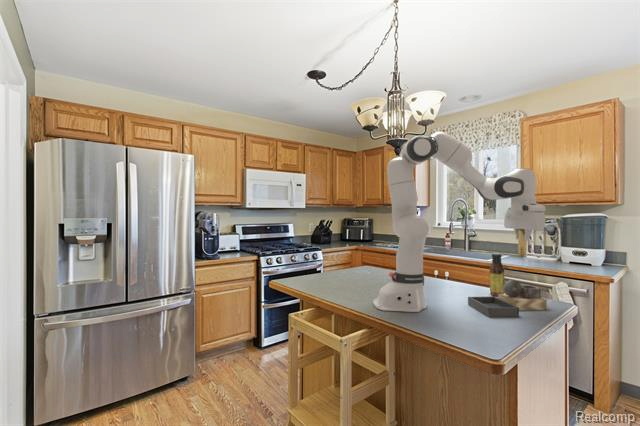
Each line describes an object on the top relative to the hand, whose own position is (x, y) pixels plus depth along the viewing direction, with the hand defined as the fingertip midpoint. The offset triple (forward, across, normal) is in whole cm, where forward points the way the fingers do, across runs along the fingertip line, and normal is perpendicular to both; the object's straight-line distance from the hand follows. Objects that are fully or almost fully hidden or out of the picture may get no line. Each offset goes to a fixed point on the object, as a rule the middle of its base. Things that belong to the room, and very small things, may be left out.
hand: (522, 240), depth 131 cm
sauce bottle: (+28, -18, +1) cm, 33 cm away
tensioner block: (+28, -1, +1) cm, 28 cm away
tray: (+28, +4, -15) cm, 33 cm away
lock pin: (+7, 0, 0) cm, 7 cm away
